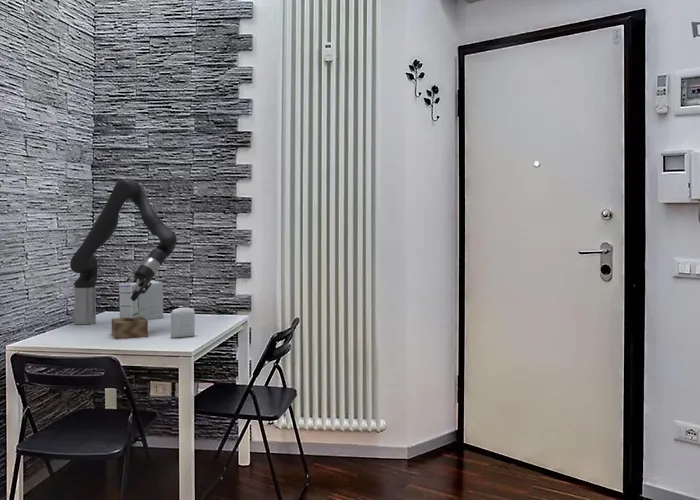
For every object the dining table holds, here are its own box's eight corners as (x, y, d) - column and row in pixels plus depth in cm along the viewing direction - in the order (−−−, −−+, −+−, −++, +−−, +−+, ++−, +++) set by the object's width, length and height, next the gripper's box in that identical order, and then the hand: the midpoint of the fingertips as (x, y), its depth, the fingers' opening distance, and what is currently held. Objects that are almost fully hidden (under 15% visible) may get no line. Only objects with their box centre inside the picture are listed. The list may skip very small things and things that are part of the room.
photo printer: (192, 334, 291) (192, 306, 291) (196, 336, 288) (196, 307, 287) (169, 337, 285) (169, 308, 285) (173, 338, 282) (172, 309, 281)
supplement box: (150, 315, 345) (150, 280, 344) (164, 318, 336) (163, 282, 335) (118, 319, 333) (118, 282, 332) (131, 322, 324) (131, 284, 323)
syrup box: (132, 318, 285) (131, 284, 284) (119, 317, 286) (119, 283, 285) (139, 316, 290) (138, 282, 290) (126, 315, 292) (126, 282, 291)
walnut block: (115, 339, 280) (115, 323, 279) (111, 334, 292) (111, 318, 291) (147, 337, 286) (147, 321, 285) (142, 332, 297) (142, 316, 297)
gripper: (131, 263, 297) (110, 292, 288) (154, 264, 289) (132, 294, 280) (141, 274, 302) (120, 303, 293) (163, 276, 294) (142, 306, 285)
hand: (126, 299), depth 287 cm, fingers closed on syrup box, 7 cm apart
